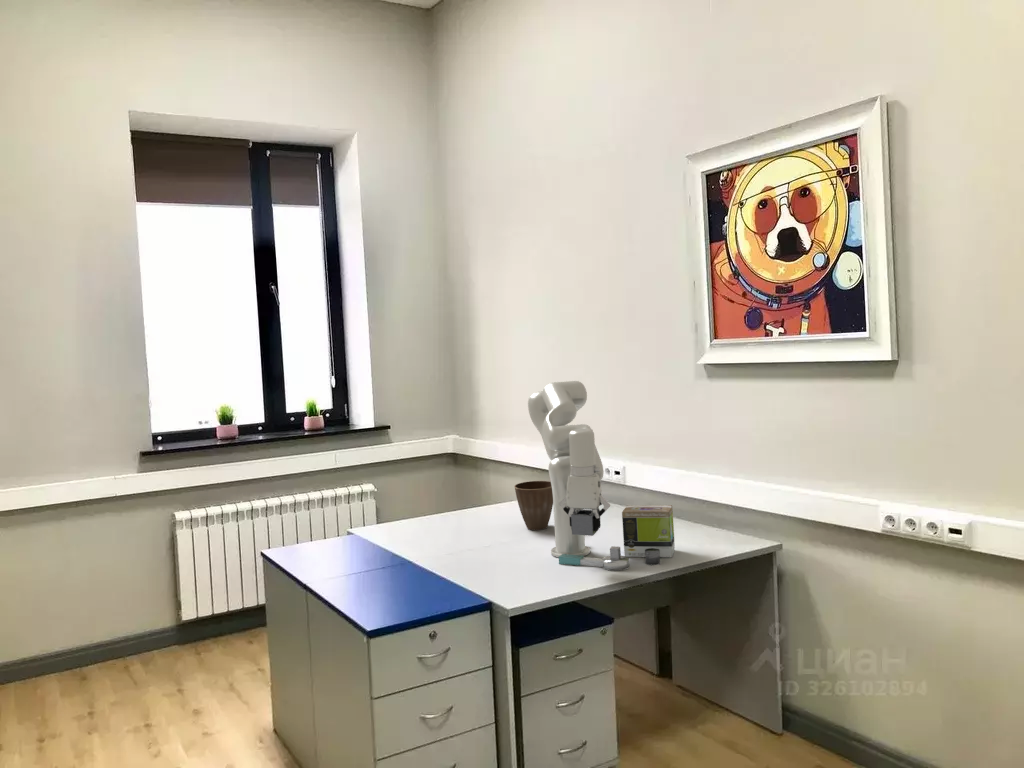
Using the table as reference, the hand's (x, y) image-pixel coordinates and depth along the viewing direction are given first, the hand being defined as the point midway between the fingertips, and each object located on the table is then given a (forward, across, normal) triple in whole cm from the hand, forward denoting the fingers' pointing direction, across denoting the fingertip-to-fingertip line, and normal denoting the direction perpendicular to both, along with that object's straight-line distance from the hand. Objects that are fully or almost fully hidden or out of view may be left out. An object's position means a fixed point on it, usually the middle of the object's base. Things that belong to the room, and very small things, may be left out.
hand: (585, 528), depth 250 cm
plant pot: (+16, +32, -47) cm, 59 cm away
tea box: (+13, -15, -21) cm, 29 cm away
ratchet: (+13, -1, -5) cm, 14 cm away
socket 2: (+13, -18, -11) cm, 24 cm away
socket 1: (+1, 0, 0) cm, 1 cm away
